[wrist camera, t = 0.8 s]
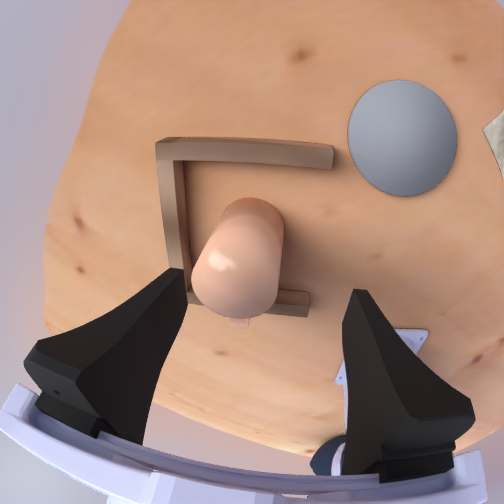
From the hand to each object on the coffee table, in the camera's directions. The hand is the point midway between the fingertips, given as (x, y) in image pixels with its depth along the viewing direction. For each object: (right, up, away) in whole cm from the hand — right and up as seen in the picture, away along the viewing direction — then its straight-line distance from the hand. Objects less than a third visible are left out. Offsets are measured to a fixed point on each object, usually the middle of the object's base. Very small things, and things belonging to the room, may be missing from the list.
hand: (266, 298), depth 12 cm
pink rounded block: (-1, +3, +10) cm, 11 cm away
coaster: (+9, +9, +4) cm, 14 cm away
